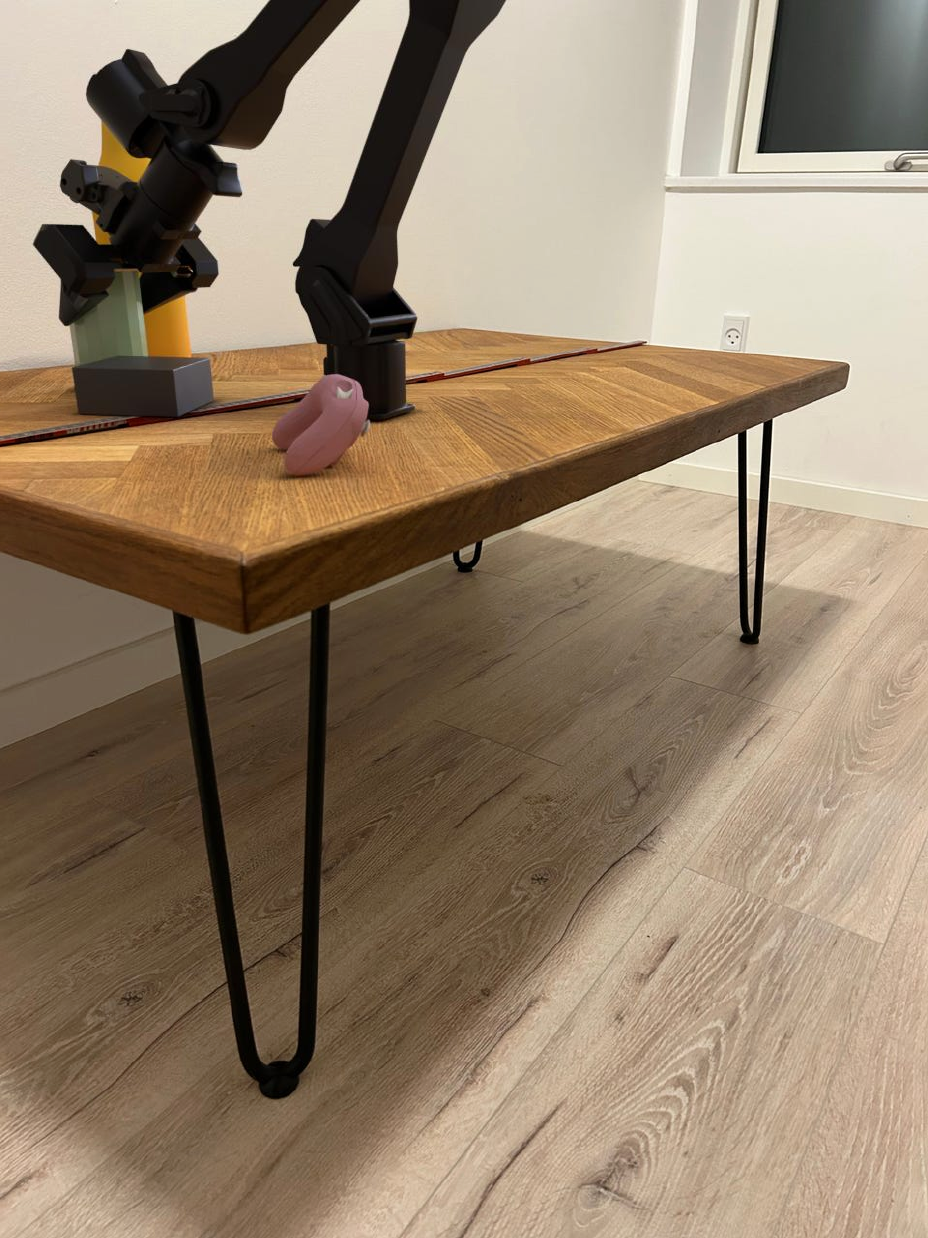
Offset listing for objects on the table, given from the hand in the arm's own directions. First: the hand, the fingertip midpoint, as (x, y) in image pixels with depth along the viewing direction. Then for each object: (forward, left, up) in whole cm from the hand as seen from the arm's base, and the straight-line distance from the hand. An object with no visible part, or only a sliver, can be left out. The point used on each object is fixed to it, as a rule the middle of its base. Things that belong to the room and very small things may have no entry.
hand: (96, 319), depth 91 cm
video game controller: (-38, +18, -7) cm, 43 cm away
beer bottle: (+8, -15, -7) cm, 18 cm away
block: (-12, +7, -7) cm, 16 cm away
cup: (-1, 0, -7) cm, 7 cm away
